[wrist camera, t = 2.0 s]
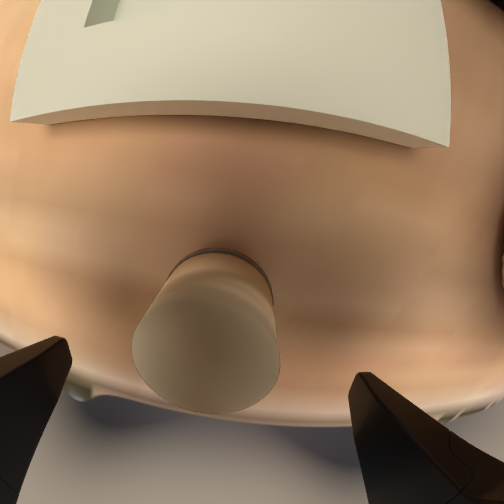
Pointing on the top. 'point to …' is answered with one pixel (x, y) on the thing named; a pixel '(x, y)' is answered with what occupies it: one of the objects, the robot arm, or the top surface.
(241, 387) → the peg
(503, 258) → the canister
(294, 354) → the top surface
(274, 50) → the board
